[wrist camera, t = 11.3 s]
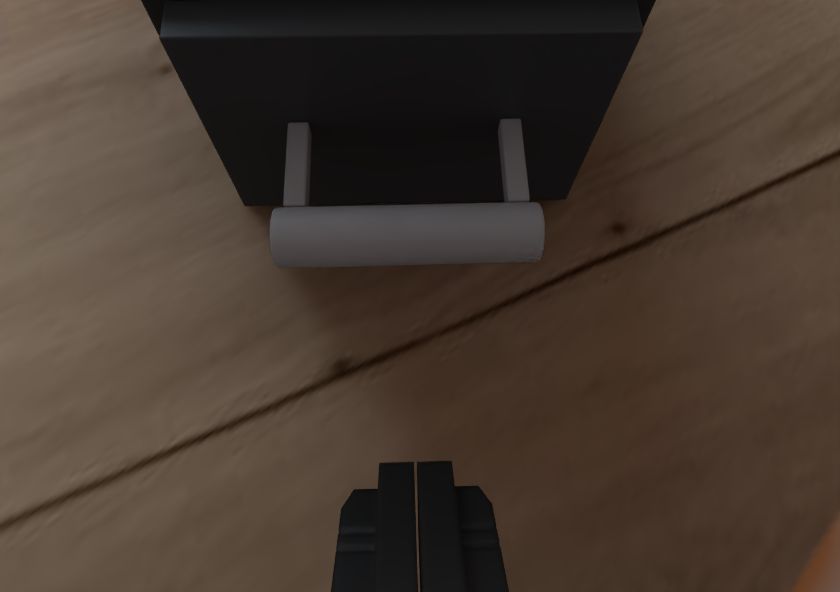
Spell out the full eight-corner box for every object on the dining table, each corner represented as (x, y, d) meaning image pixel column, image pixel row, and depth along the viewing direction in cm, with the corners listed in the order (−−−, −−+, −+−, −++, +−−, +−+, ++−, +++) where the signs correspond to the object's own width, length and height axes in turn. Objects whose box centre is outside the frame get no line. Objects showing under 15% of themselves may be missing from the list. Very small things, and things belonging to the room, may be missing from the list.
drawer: (581, 313, 20) (678, 188, 13) (234, 322, 20) (131, 200, 12) (529, -70, 26) (573, -297, 19) (267, -67, 26) (212, -296, 19)
